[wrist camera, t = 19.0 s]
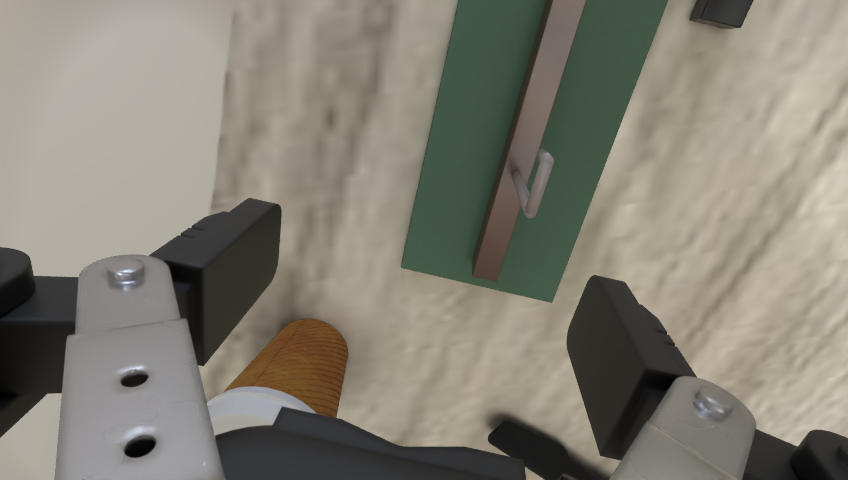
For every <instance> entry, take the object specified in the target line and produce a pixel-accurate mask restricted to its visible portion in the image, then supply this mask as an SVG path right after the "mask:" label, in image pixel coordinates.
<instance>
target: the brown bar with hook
mask: <svg viewBox="0 0 848 480" xmlns="http://www.w3.org/2000/svg"><path fill="white" fill-rule="evenodd" d="M586 1H587V0H546V3H545V7H544V10H543V14H542V17H541V21H540V24H539V28H538V31H537V35H536V38H535V42H534V45H533V49H532V52H531V56H530V59H529V63H528V66H527V70H526V73H525V77H524V80H523V84H522V87H521V91H520V94H519V98H518V101H517V105H516V108H515V111H514V115H513V118H512V122H511V125H510V129H509V132H508V136H507V139H506V143H505V146H504V150H503V153H502V157H501V160H500V164H499V167H498V171H497V174H496V178H495V181H494V185H493V188H492V192H491V195H490V199H489V202H488V206H487V209H486V213H485V216H484V220H483V223H482V226H481V230H480V233H479V237H478V240H477V244H476V247H475V251H474V254H473V258H472V276H473V277H477V278H481V279H485V280H490V281H494V282H497V280H498V277H499V274H500V271H501V268H502V264H503V261H504V258H505V255H506V252H507V249H508V246H509V242H510V239H511V236H512V233H513V230H514V227H515V224H516V221H517V217H518V214H519V211H520V208H521V205H522V208H523V211H524V214H525V216H526V217H527V218H534V217H535V216H536V214H537V211H538V208H539V205H540V202H541V199H542V196H543V193H544V190H545V187H546V184H547V181H548V178H549V175H550V172H551V169H552V166H553V163H554V159H553V157H552V156H551V155H550V153H549V152H548V151H547V150H546V149H540V145H541V142H542V139H543V136H544V133H545V130H546V127H547V123H548V120H549V117H550V114H551V111H552V108H553V105H554V102H555V98H556V95H557V92H558V89H559V86H560V83H561V80H562V76H563V73H564V70H565V67H566V64H567V61H568V58H569V55H570V51H571V48H572V45H573V42H574V39H575V36H576V33H577V29H578V26H579V23H580V20H581V17H582V14H583V11H584V8H585V4H586ZM539 149H540V150H539ZM536 158H538V160H539V162H540V164H539V167H538V170H537V173H536V176H535V180H534V183H533V186H532V189H531V192H530V194H529V192H528V189H527V186H528V183H529V180H530V177H531V174H532V170H533V167H534V164H535V161H536Z"/></svg>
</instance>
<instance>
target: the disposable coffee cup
mask: <svg viewBox="0 0 848 480" xmlns="http://www.w3.org/2000/svg"><path fill="white" fill-rule="evenodd" d="M347 359H348V349H347V345H346V343H345V340H344V339H343V337H342V336H341V334H340V333H339V332H338V331H337V330H336V329H334V328H333V327H331V326H330V325H328V324H326V323H324V322H321V321H318V320H313V319H301V320H296V321H293V322H291V323H289V324H288V325H286V326H285V327H284V328H283V329H282V330H281V331H280V332H279V334H278V335H277V336H276V337H275V338H274V339H273V340H272V341H271V342H270V343H269V344H268V345H267V346H266V347H265V348H264V349H263V350H262V351H261V352H260V353H259V355H258V356H257V357H256V358H255V359H254V360H253V361H252V362H251V363H250V364H249V365H248V366H247V367H246V368H245V370H244V371H243V372H242V373H241V374H240V375H239V376H238V377H237V378H236V379H235V380H234V381H233V382H232V383H231V384H230V385H229V386H228V387H227V388H226V390H225V391H224V392H223V393H221V394H219V395H218V396H216V397H214V398H212V399H211V400H209V401H208V402H207V406H208V410H209V414H210V418H211V422H212V427H213V431H214V435H218V434H221V433H224V432H228V431H231V430H235V429H240V428H245V427H251V426H261V425H273V423H274V421H275V419H276V417H277V415H278V413H279V411H280V409H281V407H282V406H283V407H288V408H292V409H297V410H301V411H306V412H310V413H315V414H319V415H324V416H328V417H333V418H336V417H337V412H338V406H339V400H340V395H341V389H342V384H343V378H344V373H345V368H346V363H347Z"/></svg>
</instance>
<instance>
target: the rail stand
mask: <svg viewBox="0 0 848 480" xmlns="http://www.w3.org/2000/svg"><path fill="white" fill-rule="evenodd" d="M752 2H753V0H697V3H696V5H695V8H694V10H693V12H692V15H691V17H690V20H691V21H695V22H700V23H704V24H708V25H713V26H717V27H721V28H725V29H732V28H741V26H742V24H743V22H744V20H745V17H746V15H747V13H748V11H749V9H750V6H751V4H752Z"/></svg>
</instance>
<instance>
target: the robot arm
mask: <svg viewBox="0 0 848 480" xmlns="http://www.w3.org/2000/svg"><path fill="white" fill-rule="evenodd" d="M280 229H281V207H280V205H279V204H275V203H270V202H266V201H261V200H257V199H252V198H248V199H246V200H245V201H244V202H242V203H241V204H240V205H238V206H237V207H235V208H234V209H233V210H231V211H230V212H221V213H217V214H214V215H211V216H207V217H204V218H203V219H202V220H200V221H199V222H197V223H196V224H194V225H193V226H192V228H188V229H187V230H185V231H184V232H183V233H181V236H177V237H175V238H174V239H173V240H171V241H169V242H168V243H167V244H165V245H164V246H162V247H161V248H159V249H158V250H156V251H155V252H153V253H152V254H151V255H149V256H145V255H120V256H113V257H109V258H105V259H101V260H99V261H96V262H94V263H92V264H90V265H88V266H87V267H85V268H84V269H83V270H82V271H81V273H80V275H79V277H49V276H33V270H32V265H31V260H30V257H29V256H28V255H27V254H25V253H24V252H22V251H19V250H15V249H10V248H2V247H0V437H1V436H3V435H4V434H5V433H6V432H7V431H8V430H9V429H10V428H11V427H12V426H13V425H14V424H15V423H17V422H18V421H19V420H20V419H21V418H22V417H23V416H24V415H25V414H26V413H27V412H28V411H29V410H31V409H32V408H33V407H34V406H35V405H36V404H37V403H38V402H39V401H40V400H41V399H42V398H43V397H44V396H45V395H46V394H48V393H62V398H61V411H60V422H59V434H58V445H57V457H56V469H55V480H526V475H525V467H524V460H522V459H517V458H513V457H508V456H504V455H499V454H495V453H490V452H486V451H481V450H477V449H472V448H468V447H403V446H398V445H396V444H393V443H391V442H389V441H387V440H385V439H382V438H380V437H378V436H376V435H374V434H372V433H370V432H367V431H365V430H363V429H361V428H359V427H357V426H354V425H352V424H350V423H348V422H346V421H344V420H342V419H337V418H333V417H328V416H324V415H319V414H315V413H310V412H306V411H301V410H297V409H292V408H288V407H283V406H282V407H281V409H280V411H279V413H278V415H277V417H276V419H275V421H274V423H273V425H261V426H251V427H245V428H240V429H235V430H231V431H228V432H224V433H221V434H218V435H214V431H213V427H212V422H211V418H210V414H209V410H208V406H207V402H206V397H205V393H204V389H203V385H202V381H201V376H200V372H199V368H198V365H201V366H204V365H205V364H206V362H207V361H208V360H209V359H210V358H211V356H212V355H213V354H214V353H215V351H216V350H217V349H218V348H219V346H220V345H221V344H222V343H223V341H224V340H225V339H226V338H227V336H228V335H229V334H230V333H231V331H232V330H233V329H234V328H235V326H236V325H237V324H238V323H239V321H240V320H241V319H242V318H243V317H244V315H245V314H246V313H247V312H248V310H249V309H250V308H251V307H252V305H253V304H254V303H255V302H256V300H257V299H258V298H259V297H260V295H261V294H262V293H263V292H264V290H265V289H266V288H267V287H268V285H269V284H270V283H271V281H272V280H273V277H274V275H275V272H276V269H277V265H278V258H279V243H280ZM567 350H568V353H569V356H570V360H571V363H572V366H573V369H574V373H575V376H576V379H577V382H578V385H579V389H580V392H581V395H582V398H583V402H584V405H585V408H586V411H587V414H588V418H589V421H590V424H591V427H592V431H593V434H594V437H595V440H596V443H597V447H598V450H599V453H600V456H604V457H608V458H613V459H617V460H621V462H620V463H619V465H618V467H617V468H616V470H615V471H614V473H613V474H612V476H611V478H610V479H609V480H848V438H845V437H843V436H841V435H838V434H836V433H832V432H829V431H824V430H812V431H810V432H809V433H808V434H807V436H806V437H805V438H804V439H803V441H802V442H801V443H800V445H799V446H798V447H797V446H794V445H792V444H790V443H787V442H785V441H783V440H780V439H778V438H776V437H773V436H771V435H769V434H766V433H764V432H762V431H759V430H757V429H756V422H755V419H754V417H753V415H752V414H751V412H750V411H749V410H748V409H747V407H746V406H745V405H744V404H743V403H742V402H741V401H739V400H738V399H737V398H736V397H735V396H733V395H732V394H730V393H729V392H727V391H726V390H724V389H723V388H721V387H719V386H717V385H715V384H713V383H711V382H708V381H706V380H703V379H700V378H697V377H696V375H695V374H694V372H693V371H692V369H691V368H690V366H689V365H688V363H687V362H686V360H685V358H684V357H683V355H682V354H681V352H680V351H679V349H678V348H677V347H675V343H674V342H673V340H672V339H671V337H670V336H669V335H667V331H666V330H665V328H664V327H663V325H662V324H661V322H660V321H659V319H658V318H657V317H655V316H654V315H653V314H652V313H651V312H650V311H648V310H647V309H646V308H645V307H644V306H643V305H640V304H639V303H638V301H637V300H636V298H635V297H634V295H633V294H632V292H631V290H630V289H629V287H628V286H627V284H626V283H625V282H623V281H619V280H614V279H610V278H605V277H601V276H596V275H593V276H592V277H591V278H590V279H589V280H588V282H587V284H586V287H585V289H584V292H583V294H582V296H581V299H580V301H579V304H578V306H577V309H576V311H575V313H574V316H573V318H572V321H571V323H570V326H569V329H568V334H567Z"/></svg>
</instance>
